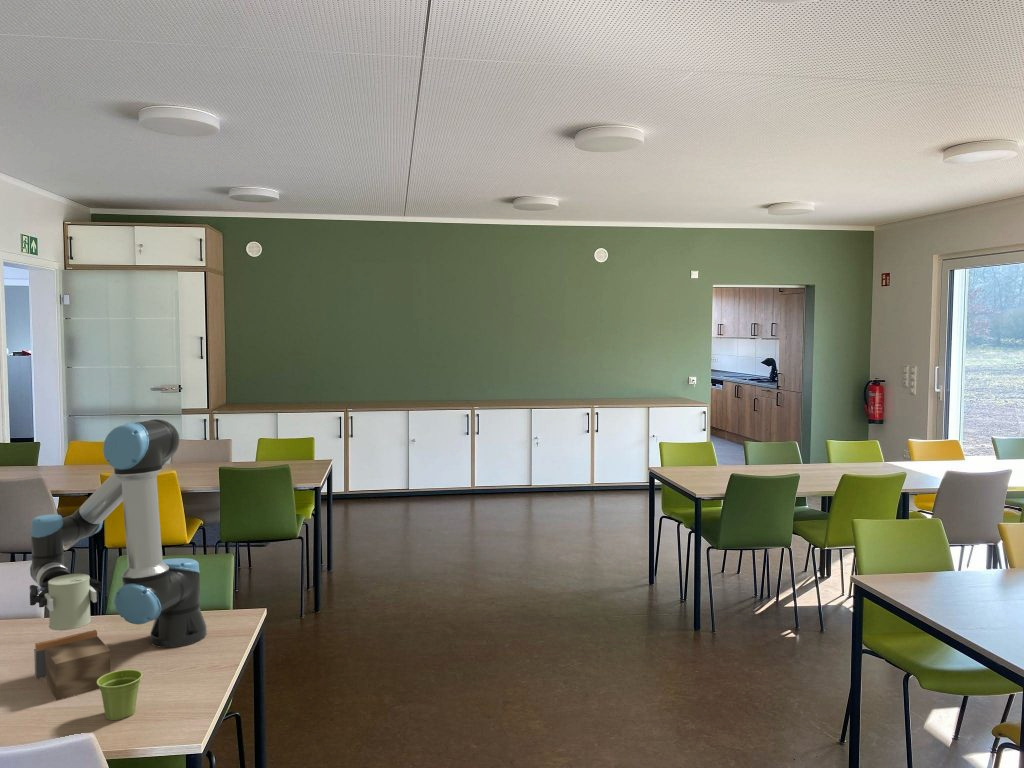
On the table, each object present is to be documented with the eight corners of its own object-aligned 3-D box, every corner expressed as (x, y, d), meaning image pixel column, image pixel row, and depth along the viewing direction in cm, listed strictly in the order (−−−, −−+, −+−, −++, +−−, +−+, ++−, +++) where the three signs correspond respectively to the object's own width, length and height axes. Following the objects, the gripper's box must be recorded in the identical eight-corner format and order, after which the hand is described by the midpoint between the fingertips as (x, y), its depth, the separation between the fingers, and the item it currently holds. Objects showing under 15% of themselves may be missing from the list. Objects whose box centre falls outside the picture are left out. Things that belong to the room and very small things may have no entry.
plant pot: (108, 705, 179) (107, 669, 178) (149, 703, 179) (148, 668, 179) (89, 725, 169) (89, 687, 169) (133, 723, 170) (132, 686, 170)
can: (72, 631, 185) (71, 583, 184) (39, 629, 186) (38, 581, 186) (99, 618, 194) (98, 572, 193) (68, 616, 195) (66, 570, 195)
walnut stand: (98, 670, 198) (97, 636, 197) (111, 685, 189) (110, 650, 188) (46, 683, 190) (45, 648, 189) (56, 700, 181) (55, 664, 180)
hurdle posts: (96, 660, 204) (96, 635, 203) (99, 663, 202) (98, 637, 202) (34, 675, 194) (34, 649, 194) (36, 678, 192) (36, 652, 192)
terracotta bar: (95, 635, 203) (95, 629, 203) (97, 637, 202) (97, 631, 202) (35, 649, 194) (35, 643, 194) (36, 651, 192) (36, 645, 192)
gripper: (99, 585, 210) (121, 606, 193) (8, 602, 196) (22, 626, 179) (99, 558, 210) (120, 577, 193) (7, 574, 196) (21, 595, 179)
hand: (73, 601), depth 186 cm, fingers closed on can, 9 cm apart
